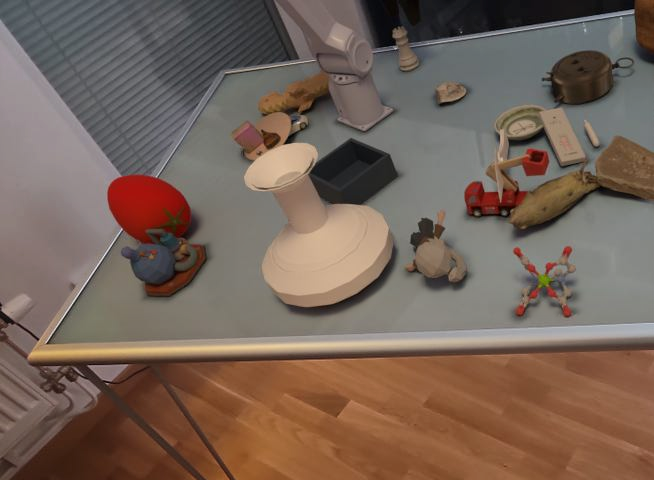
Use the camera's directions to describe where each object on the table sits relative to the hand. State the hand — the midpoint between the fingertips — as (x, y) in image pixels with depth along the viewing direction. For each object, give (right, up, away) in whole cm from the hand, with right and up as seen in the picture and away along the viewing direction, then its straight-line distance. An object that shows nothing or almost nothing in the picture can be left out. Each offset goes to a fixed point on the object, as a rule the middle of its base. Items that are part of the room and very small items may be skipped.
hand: (405, 19), depth 125 cm
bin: (-7, -38, -16) cm, 42 cm away
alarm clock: (+27, -20, -14) cm, 36 cm away
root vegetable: (+27, -45, -37) cm, 64 cm away
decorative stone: (+45, -43, -39) cm, 74 cm away
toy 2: (+9, -55, -33) cm, 65 cm away
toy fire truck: (+20, -46, -30) cm, 59 cm away
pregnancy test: (+29, -33, -23) cm, 50 cm away
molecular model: (+28, -61, -46) cm, 82 cm away
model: (-37, -54, -20) cm, 68 cm away
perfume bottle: (-28, -24, -1) cm, 37 cm away
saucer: (+23, -30, -17) cm, 41 cm away
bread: (+53, -9, -25) cm, 60 cm away
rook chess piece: (0, -6, +9) cm, 10 cm away
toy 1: (-31, -17, +5) cm, 36 cm away
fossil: (+6, -16, -5) cm, 18 cm away
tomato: (-48, -40, -15) cm, 64 cm away
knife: (+18, -39, -32) cm, 53 cm away
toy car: (-25, -23, +2) cm, 35 cm away
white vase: (-7, -56, -30) cm, 64 cm away
